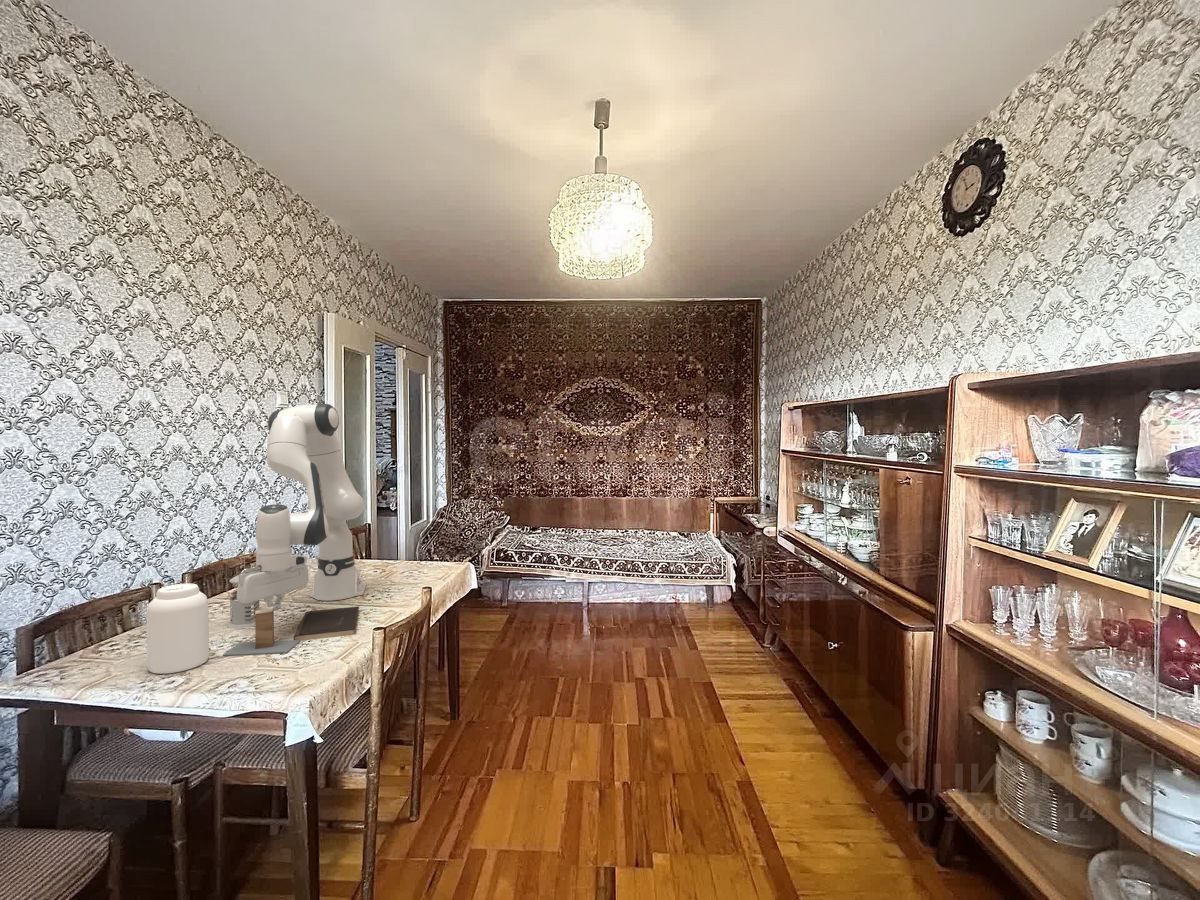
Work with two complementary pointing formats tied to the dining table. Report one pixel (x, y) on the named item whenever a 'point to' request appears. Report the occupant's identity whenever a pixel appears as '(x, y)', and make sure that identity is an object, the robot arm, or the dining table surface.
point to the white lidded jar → (177, 629)
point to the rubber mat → (250, 648)
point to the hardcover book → (327, 623)
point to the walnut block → (264, 627)
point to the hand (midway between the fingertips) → (274, 610)
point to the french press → (241, 607)
